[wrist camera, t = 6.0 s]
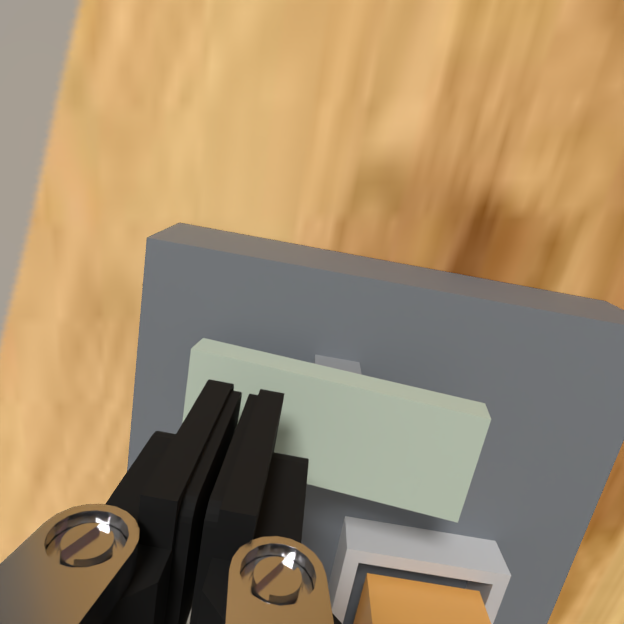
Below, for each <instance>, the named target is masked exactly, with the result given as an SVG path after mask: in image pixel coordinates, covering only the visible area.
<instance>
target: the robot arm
mask: <svg viewBox="0 0 624 624" xmlns="http://www.w3.org/2000/svg"><path fill="white" fill-rule="evenodd" d="M284 394H285V393H280V392H275V391H269V390H264V389H260V391H259V394H258V395H255V394H249V395H248V398H247V401H246V403H245V406H244V409H243V411H242V414H241V417H240V419H239V422H238V418H239V411H240V405H241V398H242V392H239V391H234V384H232V383H226V382H221V381H216V380H210V379H209V380H208V381H207V382H206V384H205V386H204V388H203V389H202V391H201V393H200V394H199V396H198V398H197V399H196V401H195V403H194V405H193V406H192V408H191V410H190V411H189V413H188V415H187V416H186V418H185V420H184V421H183V423H182V425H181V427H180V428H179V430H178V432H177V433H176V434H173V433H168V432H162V431H155V432H154V433H153V435H152V436H151V437H150V439H149V440H148V442H147V443H146V445H145V446H144V448H143V449H142V451H141V452H140V454H139V455H138V457H137V458H136V460H135V461H134V463H133V464H132V466H131V467H130V469H129V470H128V471H127V473H126V474H125V476H124V477H123V479H122V480H121V482H120V483H119V485H118V486H117V488H116V489H115V491H114V492H113V494H112V495H111V497H110V498H109V500H108V501H107V503H106V504H86V505H81V506H77V507H72V508H69V509H67V510H65V511H62V512H60V513H58V514H56V515H54V516H53V517H52V518H50V519H49V520H48V521H46V522H45V523H44V524H43V525H41V526H40V527H39V528H38V529H37V530H36V531H35V532H34V533H33V534H32V535H31V536H30V537H29V538H28V539H26V540H25V541H24V542H23V543H22V544H21V545H20V546H19V547H18V548H17V549H16V550H15V551H14V552H13V553H12V554H10V555H9V556H8V557H7V558H6V559H5V560H4V561H3V562H2V563H1V564H0V624H186V623H187V620H188V617H189V614H190V611H191V616H190V623H189V624H342V623H341V622H340V621H339V620H338V619H337V617H336V616H335V615H334V614H333V613H332V608H331V602H330V596H329V589H328V583H327V577H326V573H325V570H324V567H323V564H322V562H321V561H320V560H319V558H318V557H317V556H316V554H315V553H314V552H313V551H311V550H310V549H309V548H307V547H306V546H305V545H303V544H301V540H302V529H303V519H304V508H305V497H306V486H307V475H308V464H309V459H307V458H302V457H297V456H291V455H286V454H280V453H275V452H274V449H275V444H276V438H277V433H278V427H279V422H280V416H281V411H282V405H283V400H284ZM237 424H238V425H237ZM191 608H192V609H191Z"/></svg>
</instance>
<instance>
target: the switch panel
mask: <svg viewBox="0 0 624 624" xmlns="http://www.w3.org/2000/svg"><path fill="white" fill-rule="evenodd" d="M203 338H206V339H211V340H215V341H219V342H224V343H228V344H232V345H236V346H241V347H245V348H249V349H254V350H258V351H262V352H267V353H271V354H275V355H279V356H284V357H288V358H292V359H297V360H301V361H305V362H310V363H314V364H318V365H322V366H327V367H331V368H335V369H340V370H344V371H348V372H353V373H357V374H361V375H365V376H370V377H374V378H378V379H383V380H387V381H391V382H395V383H400V384H404V385H408V386H413V387H417V388H421V389H426V390H430V391H434V392H438V393H443V394H447V395H451V396H456V397H460V398H464V399H469V400H473V401H477V402H481V403H485V404H486V407H487V410H488V412H489V415H490V417H491V422H490V425H489V428H488V431H487V434H486V437H485V440H484V443H483V446H482V450H481V453H480V456H479V459H478V462H477V465H476V468H475V471H474V474H473V477H472V480H471V484H470V487H469V490H468V493H467V496H466V499H465V502H464V505H463V508H462V511H461V514H460V517H459V521H458V523H457V522H453V521H449V520H445V519H441V518H438V517H434V516H430V515H426V514H422V513H418V512H414V511H410V510H406V509H403V508H399V507H395V506H391V505H387V504H383V503H379V502H375V501H371V500H368V499H364V498H360V497H356V496H352V495H348V494H344V493H340V492H337V491H333V490H329V489H325V488H321V487H317V486H313V485H309V484H307V486H306V497H305V508H304V519H303V529H302V540H301V544H303V545H305V546H306V547H307V548H309V549H310V550H311V551H313V552H314V553H315V554H316V556H317V557H318V558H319V560H320V561H321V562H322V564H323V567H324V570H325V573H326V577H327V583H328V589H329V596H330V602H331V608H332V613H333V614H334V615H335V616H336V617H337V619H338V620H339V621H340V622H341V623H342V624H353V623H354V619H355V615H356V612H357V608H358V604H359V600H360V597H361V593H362V589H363V586H364V582H365V578H366V574H367V573H370V574H376V575H383V576H389V577H395V578H401V579H407V580H414V581H420V582H426V583H432V584H438V585H445V586H451V587H457V588H463V589H469V590H476V591H480V594H481V597H482V600H483V602H484V605H485V608H486V611H487V613H488V616H489V619H490V622H491V624H547V622H548V620H549V618H550V615H551V613H552V610H553V608H554V606H555V603H556V601H557V598H558V596H559V594H560V591H561V589H562V587H563V584H564V582H565V579H566V577H567V575H568V572H569V570H570V567H571V565H572V563H573V560H574V558H575V555H576V553H577V551H578V548H579V546H580V543H581V541H582V539H583V536H584V534H585V531H586V529H587V527H588V524H589V522H590V520H591V517H592V515H593V512H594V510H595V508H596V505H597V503H598V500H599V498H600V496H601V493H602V491H603V488H604V486H605V484H606V481H607V479H608V476H609V474H610V472H611V469H612V467H613V465H614V462H615V460H616V457H617V455H618V453H619V450H620V448H621V445H622V443H623V441H624V310H622V309H620V308H618V307H616V306H614V305H612V304H610V303H608V302H606V301H602V300H596V299H591V298H585V297H580V296H575V295H569V294H564V293H558V292H553V291H547V290H542V289H537V288H531V287H526V286H520V285H515V284H509V283H504V282H499V281H493V280H488V279H482V278H477V277H471V276H466V275H461V274H455V273H450V272H444V271H439V270H433V269H428V268H423V267H417V266H412V265H406V264H401V263H395V262H390V261H385V260H379V259H374V258H368V257H363V256H357V255H352V254H347V253H341V252H336V251H330V250H325V249H319V248H314V247H309V246H303V245H298V244H292V243H287V242H281V241H276V240H271V239H265V238H260V237H254V236H249V235H243V234H238V233H233V232H227V231H222V230H216V229H211V228H205V227H200V226H195V225H189V224H184V223H178V224H176V225H173V226H171V227H169V228H167V229H165V230H162V231H160V232H158V233H156V234H154V235H152V236H149V237H147V243H146V255H145V267H144V278H143V290H142V302H141V314H140V326H139V338H138V350H137V361H136V373H135V385H134V397H133V409H132V421H131V433H130V444H129V456H128V468H127V471H128V470H129V469H130V467H131V466H132V464H133V463H134V461H135V460H136V458H137V457H138V455H139V454H140V452H141V451H142V449H143V448H144V446H145V445H146V443H147V442H148V440H149V439H150V437H151V436H152V435H153V433H154V432H155V431H162V432H168V433H173V434H176V433H177V432H178V430H179V428H180V427H181V425H182V421H183V412H184V404H185V395H186V387H187V379H188V370H189V362H190V353H191V348H192V347H193V346H195V345H196V344H197V343H198V342H199V341H200V340H201V339H203Z"/></svg>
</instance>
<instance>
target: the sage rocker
mask: <svg viewBox="0 0 624 624" xmlns="http://www.w3.org/2000/svg"><path fill="white" fill-rule="evenodd" d="M209 379H210V380H216V381H221V382H226V383H232V384H234V391H239V392H242V398H241V405H240V411H239V418H238V422H239V419H240V417H241V414H242V411H243V409H244V406H245V403H246V401H247V398H248V395H249V394H255V395H258V394H259V391H260V389H264V390H269V391H275V392H280V393H285V394H284V400H283V405H282V411H281V416H280V422H279V427H278V433H277V438H276V444H275V449H274V452H275V453H280V454H286V455H291V456H297V457H302V458H307V459H309V464H308V475H307V484H309V485H313V486H317V487H321V488H325V489H329V490H333V491H337V492H340V493H344V494H348V495H352V496H356V497H360V498H364V499H368V500H371V501H375V502H379V503H383V504H387V505H391V506H395V507H399V508H403V509H406V510H410V511H414V512H418V513H422V514H426V515H430V516H434V517H438V518H441V519H445V520H449V521H453V522H457V523H458V521H459V517H460V514H461V511H462V508H463V505H464V502H465V499H466V496H467V493H468V490H469V487H470V484H471V480H472V477H473V474H474V471H475V468H476V465H477V462H478V459H479V456H480V453H481V450H482V446H483V443H484V440H485V437H486V434H487V431H488V428H489V425H490V422H491V417H490V415H489V412H488V410H487V407H486V404H485V403H481V402H477V401H473V400H469V399H464V398H460V397H456V396H451V395H447V394H443V393H438V392H434V391H430V390H426V389H421V388H417V387H413V386H408V385H404V384H400V383H395V382H391V381H387V380H383V379H378V378H374V377H370V376H365V375H361V374H357V373H353V372H348V371H344V370H340V369H335V368H331V367H327V366H322V365H318V364H314V363H310V362H305V361H301V360H297V359H292V358H288V357H284V356H279V355H275V354H271V353H267V352H262V351H258V350H254V349H249V348H245V347H241V346H236V345H232V344H228V343H224V342H219V341H215V340H211V339H206V338H203V339H201V340H200V341H199V342H198V343H197V344H196V345H195V346H193V347H192V348H191V353H190V362H189V370H188V379H187V387H186V395H185V404H184V412H183V421H184V420H185V418H186V416H187V415H188V413H189V411H190V410H191V408H192V406H193V405H194V403H195V401H196V399H197V398H198V396H199V394H200V393H201V391H202V389H203V388H204V386H205V384H206V382H207V381H208V380H209ZM183 421H182V423H183ZM237 425H238V424H237Z"/></svg>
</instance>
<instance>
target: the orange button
mask: <svg viewBox="0 0 624 624" xmlns="http://www.w3.org/2000/svg"><path fill="white" fill-rule="evenodd" d="M353 624H491V622H490V619H489V616H488V613H487V611H486V608H485V605H484V602H483V600H482V597H481V594H480V591H476V590H469V589H463V588H457V587H451V586H445V585H438V584H432V583H426V582H420V581H414V580H407V579H401V578H395V577H389V576H383V575H376V574H370V573H367V574H366V578H365V582H364V586H363V589H362V593H361V597H360V600H359V604H358V608H357V612H356V615H355V619H354V623H353Z"/></svg>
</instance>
